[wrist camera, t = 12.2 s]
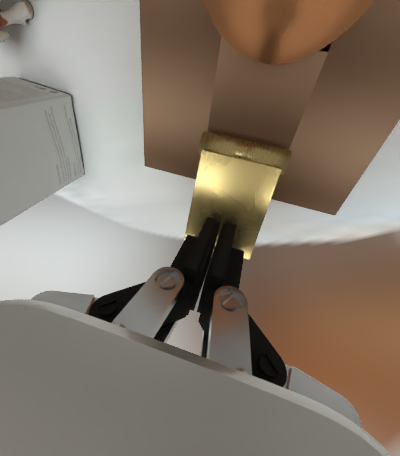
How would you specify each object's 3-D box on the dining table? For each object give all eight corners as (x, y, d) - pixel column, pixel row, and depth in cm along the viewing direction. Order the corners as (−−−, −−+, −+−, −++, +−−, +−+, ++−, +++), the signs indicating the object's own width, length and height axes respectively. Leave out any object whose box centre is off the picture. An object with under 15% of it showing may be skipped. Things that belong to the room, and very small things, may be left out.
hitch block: (198, -174, 10) (127, -403, 5) (500, -166, 8) (815, -500, 3) (177, 142, 18) (144, 165, 14) (318, 175, 17) (334, 215, 12)
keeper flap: (206, 131, 11) (202, 130, 10) (288, 150, 11) (293, 150, 10) (186, 231, 14) (181, 238, 13) (252, 251, 13) (252, 260, 12)
